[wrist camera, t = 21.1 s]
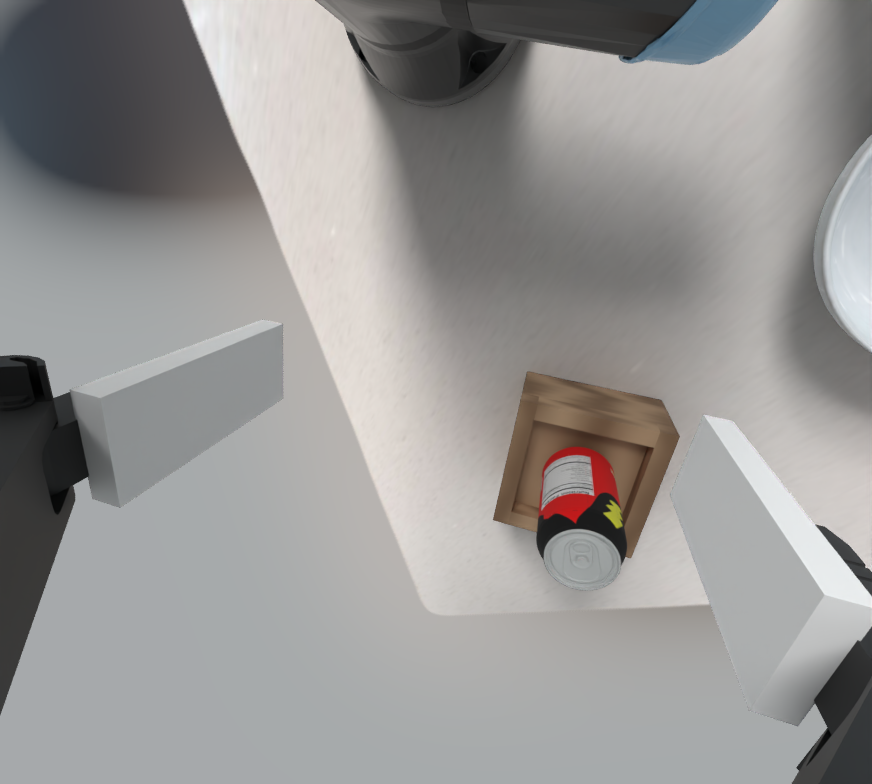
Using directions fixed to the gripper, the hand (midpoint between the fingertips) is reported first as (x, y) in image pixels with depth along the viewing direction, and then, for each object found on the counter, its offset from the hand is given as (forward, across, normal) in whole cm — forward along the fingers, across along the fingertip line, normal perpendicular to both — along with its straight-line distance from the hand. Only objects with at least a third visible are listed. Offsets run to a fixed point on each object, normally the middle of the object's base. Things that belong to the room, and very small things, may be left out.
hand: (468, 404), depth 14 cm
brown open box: (+32, +8, -16) cm, 36 cm away
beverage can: (+26, +8, -16) cm, 31 cm away
